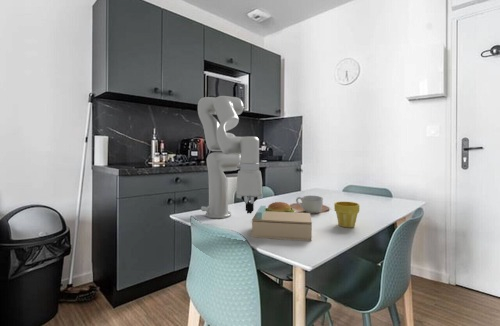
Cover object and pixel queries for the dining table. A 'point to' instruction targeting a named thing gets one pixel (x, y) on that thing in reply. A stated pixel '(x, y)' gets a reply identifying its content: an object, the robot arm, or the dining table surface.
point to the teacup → (311, 203)
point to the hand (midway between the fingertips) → (249, 212)
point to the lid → (281, 216)
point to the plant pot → (346, 213)
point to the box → (282, 230)
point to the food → (279, 207)
